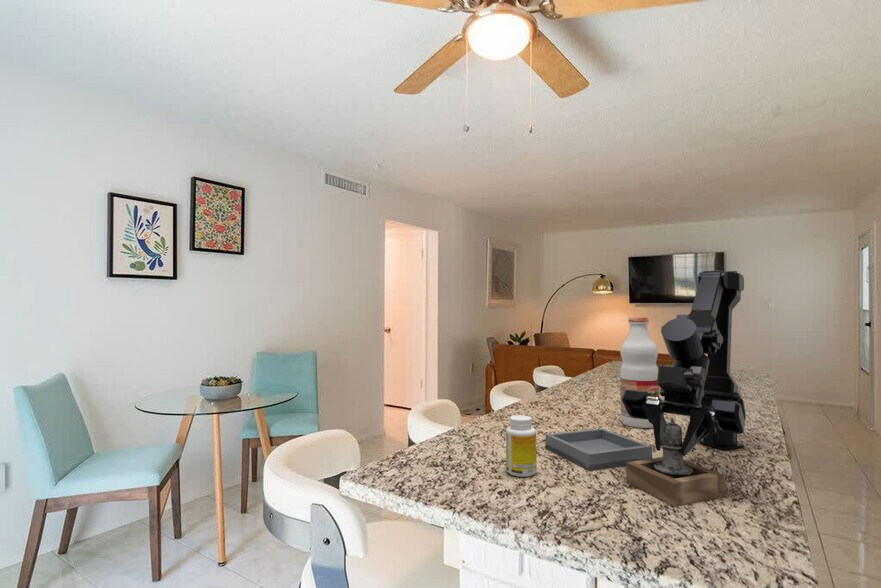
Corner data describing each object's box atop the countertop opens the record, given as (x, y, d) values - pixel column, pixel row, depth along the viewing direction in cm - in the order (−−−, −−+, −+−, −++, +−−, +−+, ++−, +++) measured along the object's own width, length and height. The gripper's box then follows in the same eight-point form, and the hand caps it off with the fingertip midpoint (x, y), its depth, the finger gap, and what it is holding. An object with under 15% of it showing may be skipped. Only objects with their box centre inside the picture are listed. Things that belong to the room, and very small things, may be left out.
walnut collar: (672, 475, 86) (672, 455, 86) (724, 496, 76) (724, 474, 76) (626, 482, 82) (625, 462, 82) (674, 506, 72) (673, 483, 72)
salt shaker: (698, 497, 75) (696, 422, 76) (659, 494, 77) (657, 421, 77) (686, 484, 81) (685, 414, 82) (650, 481, 82) (649, 413, 83)
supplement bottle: (542, 475, 86) (542, 419, 86) (517, 480, 84) (517, 422, 84) (524, 466, 91) (524, 413, 91) (500, 470, 89) (500, 415, 89)
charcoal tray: (602, 441, 107) (602, 428, 107) (652, 461, 93) (652, 446, 93) (545, 448, 102) (545, 434, 102) (589, 470, 88) (589, 454, 88)
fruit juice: (629, 418, 129) (627, 317, 130) (665, 424, 123) (663, 317, 124) (614, 424, 123) (613, 317, 124) (652, 431, 116) (649, 318, 117)
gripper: (624, 346, 89) (600, 414, 80) (739, 352, 76) (725, 434, 68) (640, 382, 94) (619, 450, 86) (749, 394, 82) (738, 474, 73)
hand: (670, 451), depth 78 cm, fingers closed on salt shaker, 4 cm apart
